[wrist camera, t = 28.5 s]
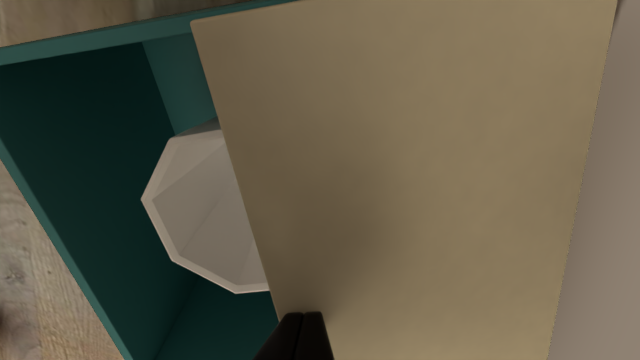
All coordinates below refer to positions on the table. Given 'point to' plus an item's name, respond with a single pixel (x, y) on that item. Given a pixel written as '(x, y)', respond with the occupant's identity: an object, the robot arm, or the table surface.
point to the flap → (412, 163)
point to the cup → (204, 210)
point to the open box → (122, 179)
